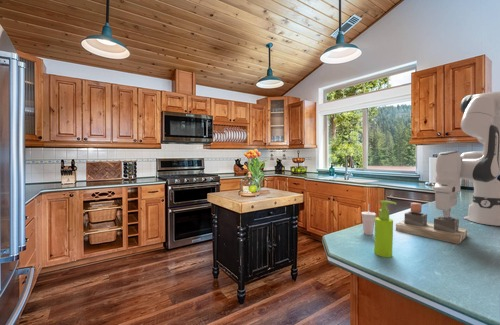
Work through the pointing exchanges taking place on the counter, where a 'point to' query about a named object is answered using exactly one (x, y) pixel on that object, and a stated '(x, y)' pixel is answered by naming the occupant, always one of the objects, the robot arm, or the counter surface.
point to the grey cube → (446, 218)
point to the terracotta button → (416, 207)
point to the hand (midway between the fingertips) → (446, 217)
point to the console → (432, 227)
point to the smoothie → (368, 221)
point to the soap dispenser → (384, 232)
